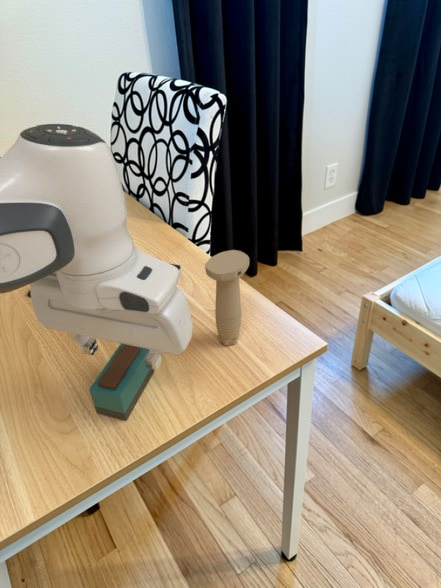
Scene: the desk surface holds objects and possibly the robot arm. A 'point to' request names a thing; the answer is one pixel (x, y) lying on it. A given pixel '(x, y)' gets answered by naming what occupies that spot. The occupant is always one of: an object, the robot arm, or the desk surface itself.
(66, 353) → the desk surface
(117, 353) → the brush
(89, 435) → the desk surface
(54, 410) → the desk surface
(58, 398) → the desk surface
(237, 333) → the handle
